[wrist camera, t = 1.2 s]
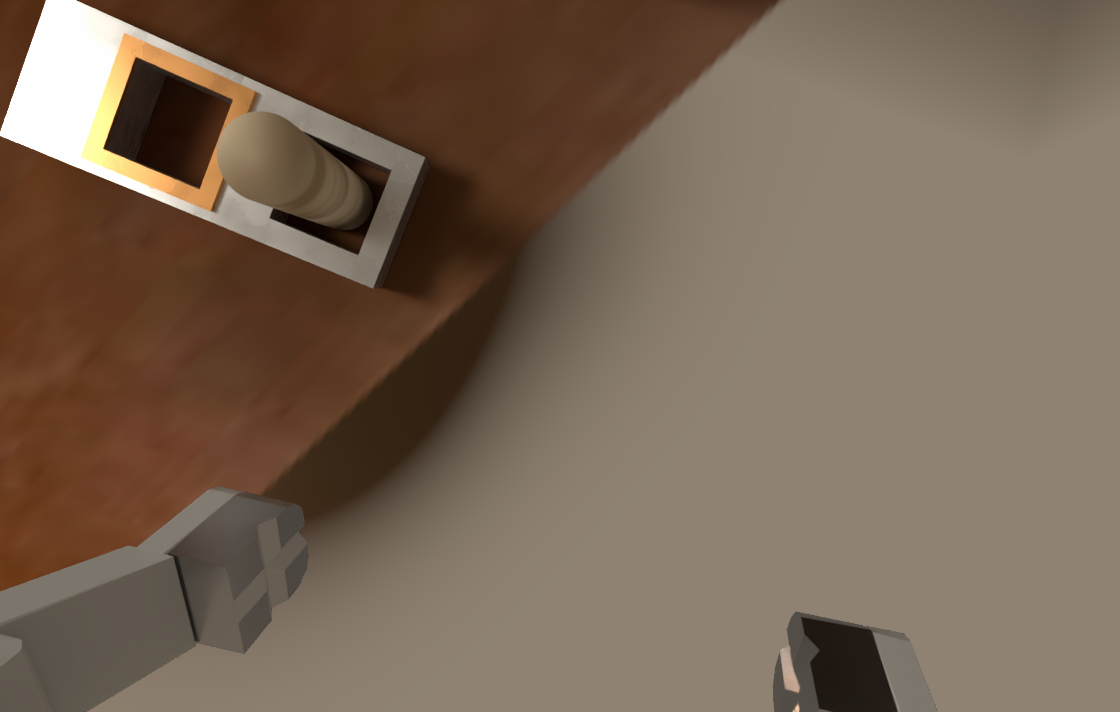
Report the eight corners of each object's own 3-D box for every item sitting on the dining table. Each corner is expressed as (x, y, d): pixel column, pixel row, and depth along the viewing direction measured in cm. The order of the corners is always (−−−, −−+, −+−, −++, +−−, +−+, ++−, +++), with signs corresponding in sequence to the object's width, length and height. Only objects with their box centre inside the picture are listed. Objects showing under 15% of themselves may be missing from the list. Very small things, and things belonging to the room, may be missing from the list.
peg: (303, 216, 40) (204, 180, 27) (325, 160, 40) (235, 95, 26) (360, 240, 41) (291, 217, 27) (382, 185, 41) (323, 134, 27)
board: (38, 146, 38) (-5, 133, 35) (85, 12, 38) (46, -14, 34) (381, 288, 42) (372, 288, 38) (430, 166, 41) (424, 156, 38)
